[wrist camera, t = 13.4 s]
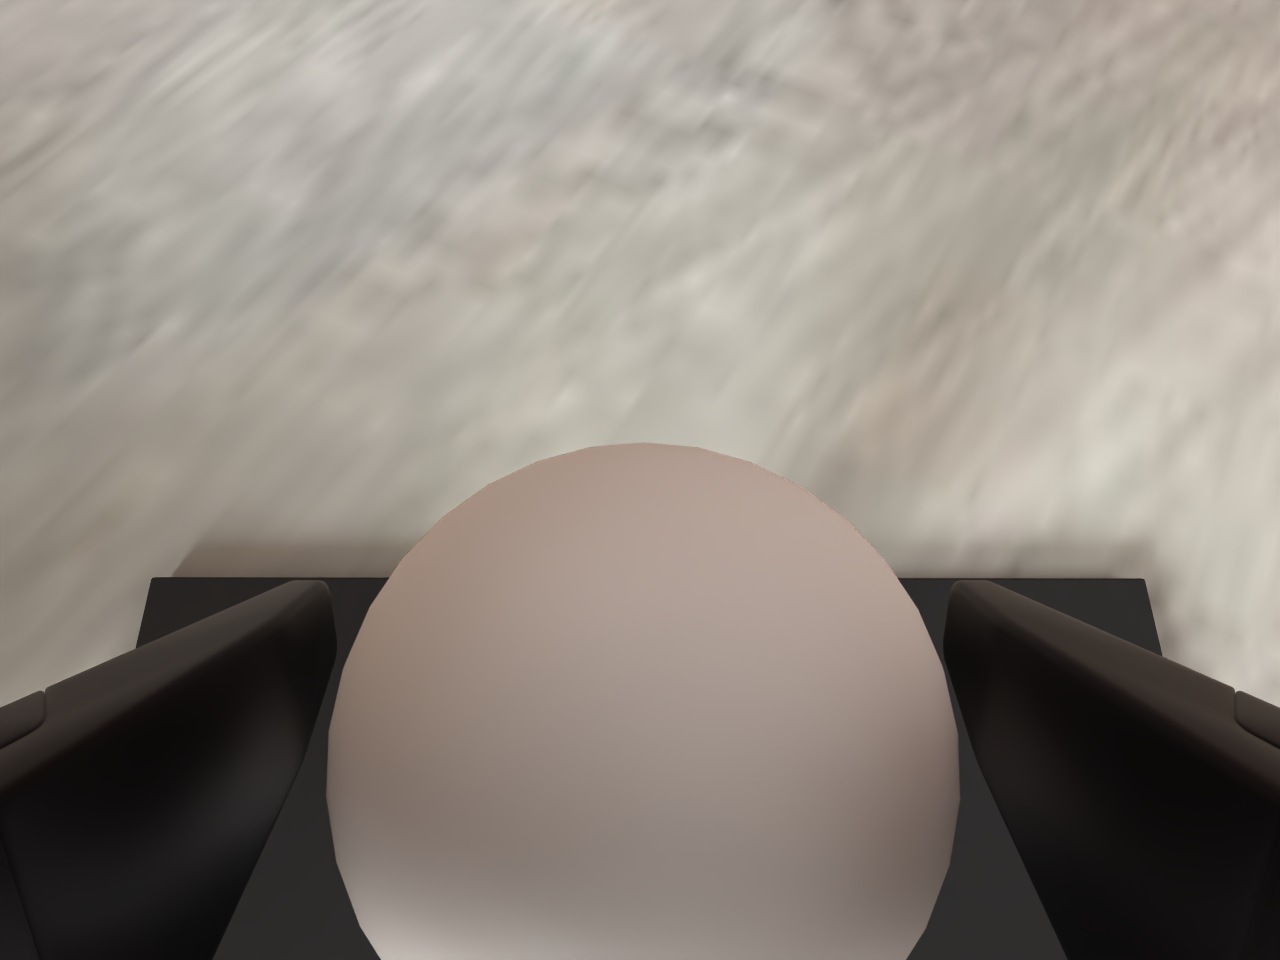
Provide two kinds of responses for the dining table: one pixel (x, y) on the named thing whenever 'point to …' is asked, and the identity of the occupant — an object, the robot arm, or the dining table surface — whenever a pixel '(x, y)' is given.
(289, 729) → the robot arm
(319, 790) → the mat
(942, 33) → the dining table surface
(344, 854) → the lightbulb
